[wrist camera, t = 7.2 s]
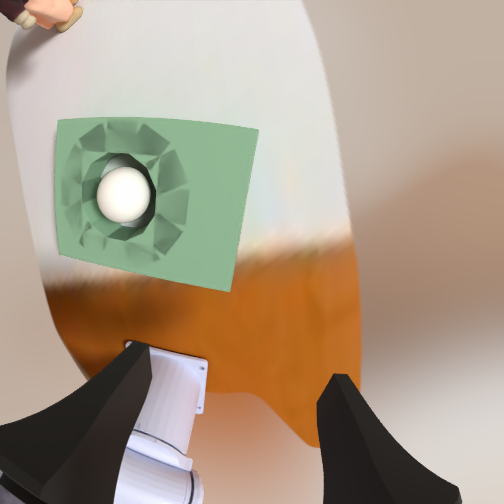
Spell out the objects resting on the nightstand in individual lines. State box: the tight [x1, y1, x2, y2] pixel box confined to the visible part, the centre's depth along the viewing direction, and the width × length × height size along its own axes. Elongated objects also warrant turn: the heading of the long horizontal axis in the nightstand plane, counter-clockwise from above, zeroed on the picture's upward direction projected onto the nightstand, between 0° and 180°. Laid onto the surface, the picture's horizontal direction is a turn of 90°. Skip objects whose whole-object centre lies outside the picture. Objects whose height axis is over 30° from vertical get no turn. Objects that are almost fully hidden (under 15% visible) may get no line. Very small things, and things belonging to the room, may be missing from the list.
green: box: [55, 117, 259, 292], centre depth 16 cm, size 10×14×2 cm
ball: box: [97, 167, 151, 223], centre depth 16 cm, size 4×4×4 cm
